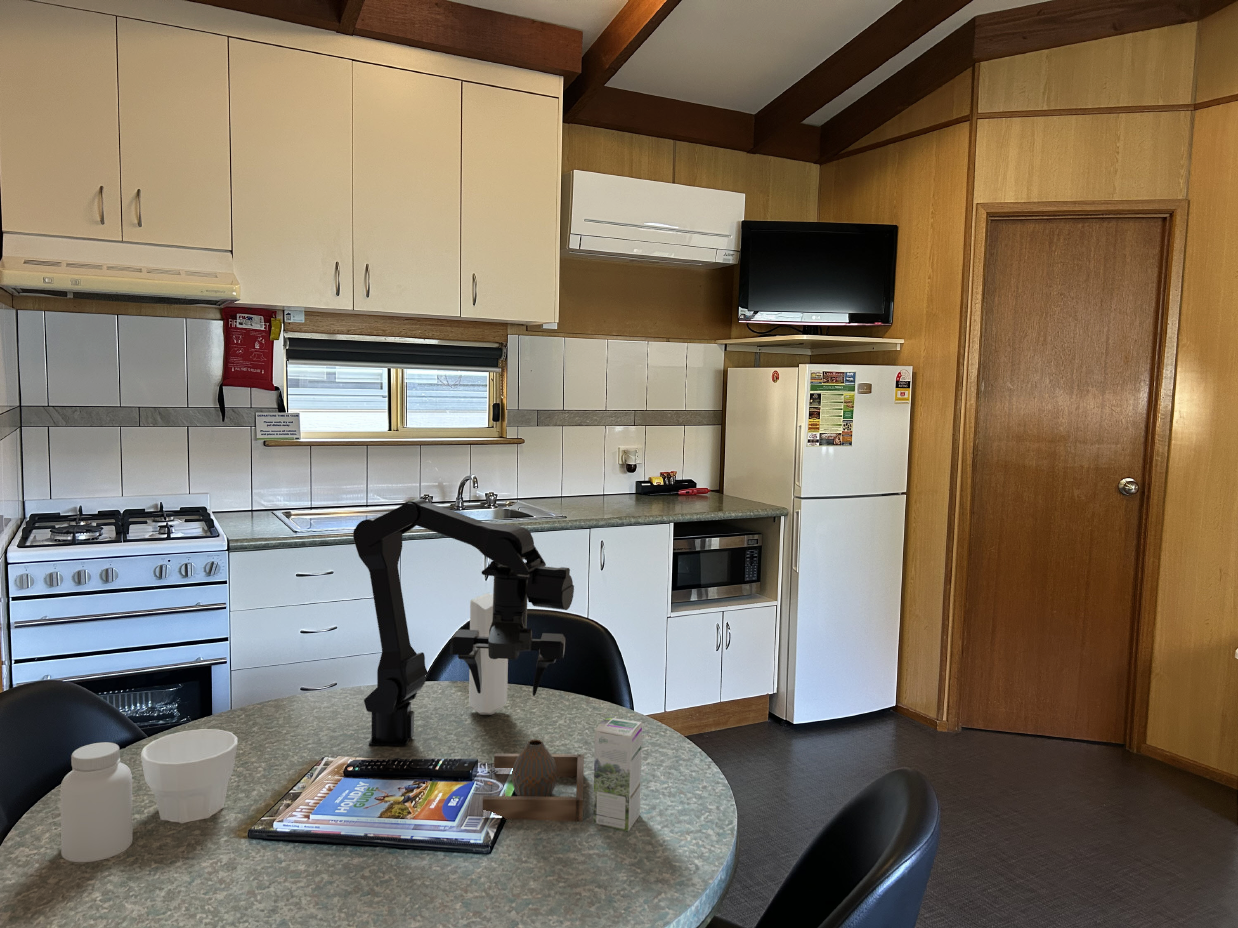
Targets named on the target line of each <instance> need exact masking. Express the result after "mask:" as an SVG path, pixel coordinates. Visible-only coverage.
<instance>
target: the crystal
mask: <svg viewBox="0 0 1238 928" xmlns="http://www.w3.org/2000/svg"><path fill="white" fill-rule="evenodd" d="M469 603H470V604H469V605H470V606H469V608H470V609H469V611H470V612H469V613H470V614H469V618H470V619H469V630H479V637H489V629H490V627H491V624H492V616H493V593H490V592H487V593H484V594H482V595H478V596H476V597H475V598H473V599H471V600H470V601H469ZM480 650H481V673H482V687H481V693H478V692H477V689H476V686H475V683H474V679H473V676H472V673H471V671H470V668H469V667H468V668H469V673H468V674H469V677H468V679H469V685H468V689H469V690H468V692H469V693H468V704H469V706H470V707H471V708H472V709H474V711H476V712H477V713H478V714H479V715H480V716H481V715H482V716H491V715H494V714H495V713H497V711H499V710H500V709H502V708H503V707H505V706H506V704H507V702H508V678H509V677H508V668H509V664H508V663H509V659H501V658H498V659H491V658H490V657H489V650H488V649H487V648H480Z"/></svg>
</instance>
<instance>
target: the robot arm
mask: <svg viewBox="0 0 1238 928" xmlns="http://www.w3.org/2000/svg"><path fill="white" fill-rule="evenodd" d="M417 526H418V527H420V528H421V529H422V528H423V529H426V530H429V531H431V532H433V533H436V534H439V535H442V536H445V537H447V538H451V539H453V540H456V541H459V542H461V543H464V544H467V545H470V546H472V547H473V548H475V549H477V550H478V551H479V552H480V553H481V554H482V555H483V556H484V557H485V558H487V559H489V560H491V561H490V563H489V565H487V566H486V567H485V568H484V569H482V571H481V575H483V576H488V577H489V576H491V577H493V588H492V589H493V593H492V594H493V616H492V624H491V627H490V629H489V637H479V630H470V629H461V628H460V629H458V630H457V631H456V632H454V635H453V636H452V637H451V639H450V643H449V654H451V655H455V656H457V659H458V660H463V661H464V662H465V664H467V667H468V668H470V671H471V673H472V676H473V679H474V683H475V686H476V689H477V692H478V693H481V687H482V673H481V650H480V648H487V649H488V650H489V657H490V658H491V659H498V658H501V659H508V661H514V660H517V659H519V657H520V652H523V653H524V652H526V651H527V652H529V651H532V652H533V651H536V652H538V651H539V652H538V653H539V654H538V657H537V661H536V669H535V673H534V680H533V686H532V696H533V697H536V694H537V692H538V689H539V685H540V684H541V680H542V678H543V675H544V672H545V671H546V669H547V668H548V665H550V664H555V663H556V660H562V659H564V655H565V649H566V637H565V636H564V634H563V633H547V632H543V633H542V635H541V638H540V639H539V638H533V631H532V630H533V629H532V628H529V627H527V621H528V603H531V604H532V606H533V607H538V608H546V609H554V610H555V609H556V610H563V611H568V610H569V608H570V607H571V605H572V603H573V599H574V592H575V584H573V583H574V582H573V578H572V576H571V575H570V574H571V573H570V571H571V570H570V567H564V566H561V567H553V566H546V565H547V564H546V562H545V560H544V559H543V557H542V555H541V554H540V553H539V551H538V549H537V547H536V546H535V542H534V538H533V535H532V533H531V531H530V530H529V529H527V528H526V527H524V526H519V525H513V524H506V523H494V522H493V523H492V522H485V521H482V520H480V519H476V518H474V517H471V516H468V515H465V514H463V513H459V512H456V511H454V510H451V509H449V508H445V507H442V506H439V505H437V504H434V503H431V502H429V501H428V500H426V499H425V498H424V499H423V498H417V499H412V500H409V501H405V502H404V503H403V504H402V505H400V506H398V507H396V508H395V509H392V510H390V511H388V512H387V513H384V514H382V515H379V516H375V517H372V518H371V517H369V518H367V519H364V520H361V521H360V522H358V523H357V525H356V526H355V528H354V529H353V533H352V538H353V542H354V545H355V548H356V551H357V555H358V557H359V558H360V560H361V561H362V563H363V564H364V565H365V566H366V568H367V570H368V573H369V576H370V577H369V578H370V584H371V590H372V596H373V601H374V608H375V615H376V622H377V627H378V633H379V640H380V646H381V654H380V658H379V662H378V666H377V671H376V673H377V675H376V680H377V681H376V684H377V685H376V686H377V687H375V689H374V690H372V692H371V693H369V694H368V695H367V696H366V697H365V698H364V700H363V703H364V706H365V709H366V712H368V713H371V738H370V739H369V741H368V746H371V747H373V746H375V747H376V746H378V747H383V746H384V747H385V746H387V747H406V746H407V745H408V743H409V741H410V740H411V739H412V737H413V735H414V733H415V711H414V710H412V702H411V701H413V700H415V699H416V697H417V694H418V692H419V691H420V690H422V688H423V687H424V685H426V684H425V683H426V676H427V675H429V672H428V670H427V667H426V657H425V653H424V652H418V653H417V652H416V651H415V649H414V648H413V646H412V645H411V642H410V635H409V629H408V623H407V616H406V610H405V603H404V598H403V590H402V586H401V578H400V573H399V561H400V558H401V553H402V551H403V535H405V534H407V533H408V532H409V531H411V530H412V529H414V528H416V527H417ZM524 560H525V561H524Z"/></svg>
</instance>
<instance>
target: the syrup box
mask: <svg viewBox="0 0 1238 928" xmlns="http://www.w3.org/2000/svg"><path fill="white" fill-rule="evenodd" d="M593 744H594V749H593V750H594V753H593V757H594V758H593V789H592V790H593V794H592V795H593V797H592V798H593V799H592V800H593V802H592V805H593V806H592V824H593V825H598V826H602V827H607V828H612V829H616V830H621V831H626V832H629V831H630V830H631V828H632V827H633V826H634V824H635V822H636V821H637V819H638V818H639V817H640V816H641V815H640V814H641V783H642V782H641V779H642V774H641V773H642V755H643V754H642V751H643V722H641V721H635V720H628V719H621V718H615V717H605V718H604V719H603V720H602V721H601V722H600V723H599V724H598V725H597V727H596V728H595V729H594V741H593Z"/></svg>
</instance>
